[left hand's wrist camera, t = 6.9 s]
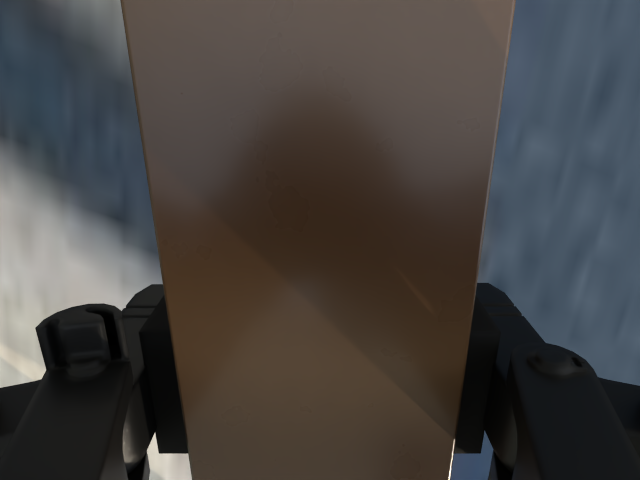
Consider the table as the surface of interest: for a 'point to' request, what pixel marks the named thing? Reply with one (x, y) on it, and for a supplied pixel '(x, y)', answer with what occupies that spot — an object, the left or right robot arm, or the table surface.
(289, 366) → the beam
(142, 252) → the table surface
